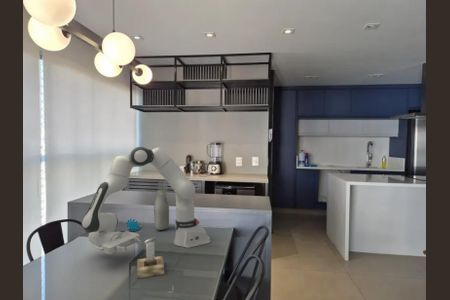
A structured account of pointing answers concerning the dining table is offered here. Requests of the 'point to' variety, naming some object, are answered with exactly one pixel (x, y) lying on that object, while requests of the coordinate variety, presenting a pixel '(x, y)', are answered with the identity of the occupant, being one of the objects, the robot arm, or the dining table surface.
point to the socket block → (150, 267)
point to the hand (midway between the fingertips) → (132, 245)
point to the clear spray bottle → (150, 251)
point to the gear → (133, 225)
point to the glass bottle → (161, 211)
